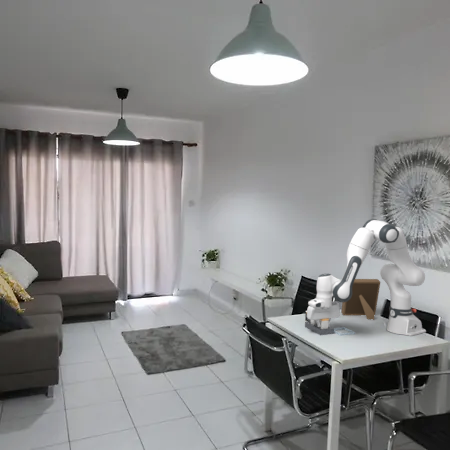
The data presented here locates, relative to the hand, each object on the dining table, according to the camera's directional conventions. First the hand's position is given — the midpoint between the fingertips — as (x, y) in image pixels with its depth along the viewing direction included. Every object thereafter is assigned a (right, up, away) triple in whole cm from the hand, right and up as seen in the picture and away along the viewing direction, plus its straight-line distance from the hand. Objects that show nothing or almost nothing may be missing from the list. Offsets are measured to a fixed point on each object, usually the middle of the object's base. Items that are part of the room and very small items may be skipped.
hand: (323, 326), depth 239 cm
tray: (+11, -5, +1) cm, 12 cm away
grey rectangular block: (-3, -3, +8) cm, 9 cm away
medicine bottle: (-1, -4, +22) cm, 23 cm away
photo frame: (+34, -3, +38) cm, 51 cm away
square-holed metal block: (-2, -4, +4) cm, 6 cm away
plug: (0, -2, 0) cm, 2 cm away
